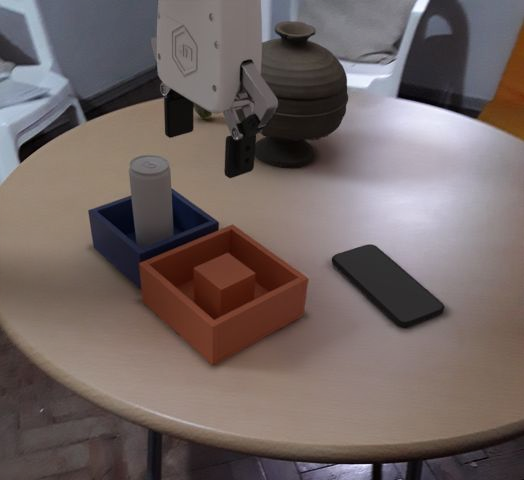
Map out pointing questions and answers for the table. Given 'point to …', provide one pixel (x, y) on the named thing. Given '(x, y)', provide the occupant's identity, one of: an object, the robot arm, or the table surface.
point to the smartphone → (388, 285)
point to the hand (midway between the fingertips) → (208, 152)
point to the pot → (299, 95)
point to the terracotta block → (223, 285)
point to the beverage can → (151, 199)
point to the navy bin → (124, 237)
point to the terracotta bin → (237, 321)
